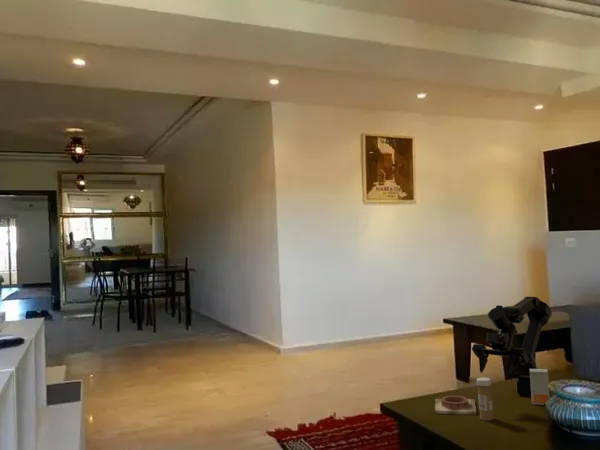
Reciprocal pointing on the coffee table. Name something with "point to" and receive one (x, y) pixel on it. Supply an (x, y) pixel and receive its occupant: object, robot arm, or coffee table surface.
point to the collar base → (455, 405)
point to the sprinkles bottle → (485, 398)
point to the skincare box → (539, 386)
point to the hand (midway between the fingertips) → (493, 374)
